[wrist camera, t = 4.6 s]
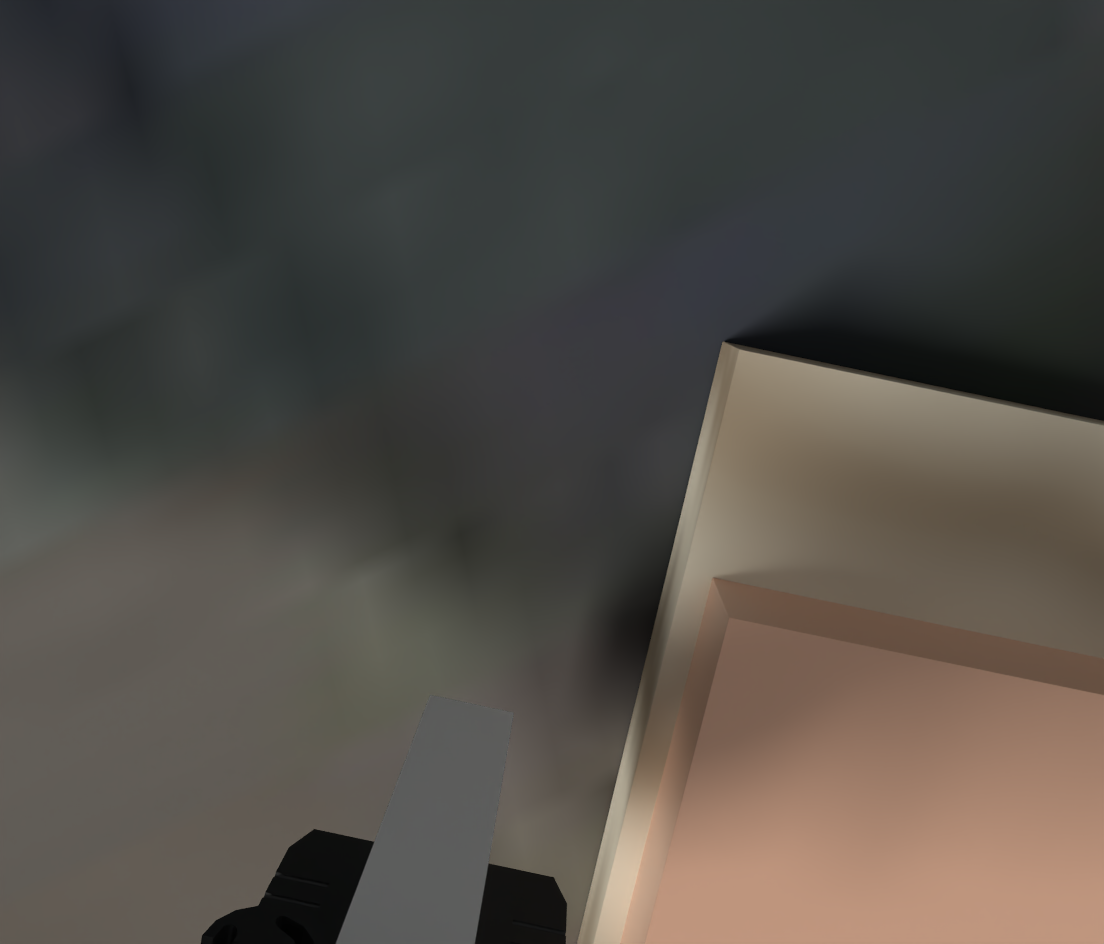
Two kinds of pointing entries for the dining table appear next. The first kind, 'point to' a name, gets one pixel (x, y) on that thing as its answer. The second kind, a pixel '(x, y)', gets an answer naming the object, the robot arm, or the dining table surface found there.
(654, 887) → the terracotta tile
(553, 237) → the dining table surface
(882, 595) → the board
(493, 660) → the dining table surface
